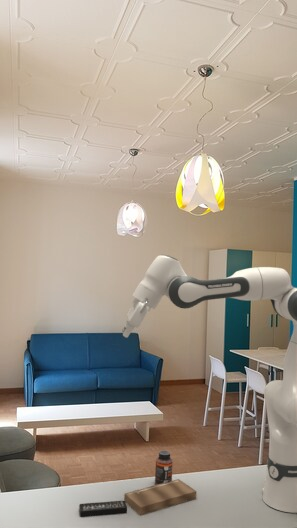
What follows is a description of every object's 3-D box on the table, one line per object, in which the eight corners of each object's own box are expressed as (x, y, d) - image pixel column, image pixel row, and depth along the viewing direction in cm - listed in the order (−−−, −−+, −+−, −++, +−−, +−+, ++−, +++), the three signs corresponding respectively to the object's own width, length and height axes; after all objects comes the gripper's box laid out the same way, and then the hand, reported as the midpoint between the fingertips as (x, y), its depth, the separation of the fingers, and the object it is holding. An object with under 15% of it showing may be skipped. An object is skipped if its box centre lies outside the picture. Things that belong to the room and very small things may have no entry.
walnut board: (178, 486, 159) (178, 478, 159) (196, 498, 151) (196, 490, 151) (124, 501, 147) (124, 493, 148) (140, 515, 139) (140, 507, 139)
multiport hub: (78, 511, 141) (79, 503, 141) (124, 507, 144) (124, 500, 144) (80, 518, 137) (80, 510, 137) (127, 514, 140) (127, 507, 140)
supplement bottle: (170, 489, 157) (171, 456, 157) (153, 487, 158) (154, 454, 158) (172, 482, 163) (174, 450, 163) (156, 479, 164) (157, 448, 164)
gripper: (157, 305, 139) (133, 344, 138) (151, 301, 159) (131, 335, 158) (139, 294, 138) (116, 333, 138) (136, 292, 159) (116, 326, 158)
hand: (124, 334), depth 148 cm, fingers open, 8 cm apart
